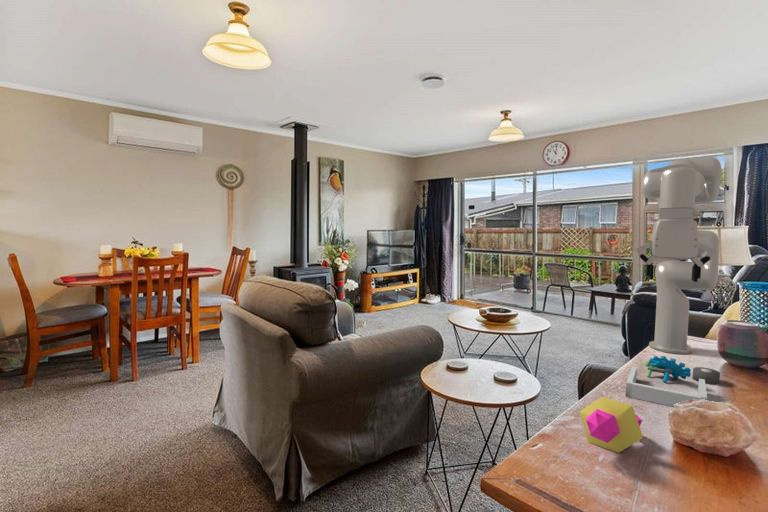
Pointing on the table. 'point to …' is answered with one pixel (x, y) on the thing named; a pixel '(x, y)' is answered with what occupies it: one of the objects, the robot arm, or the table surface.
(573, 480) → the table surface
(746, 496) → the table surface
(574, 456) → the table surface
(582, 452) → the table surface
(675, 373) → the gear
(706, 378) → the wheel
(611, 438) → the toy
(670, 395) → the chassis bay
